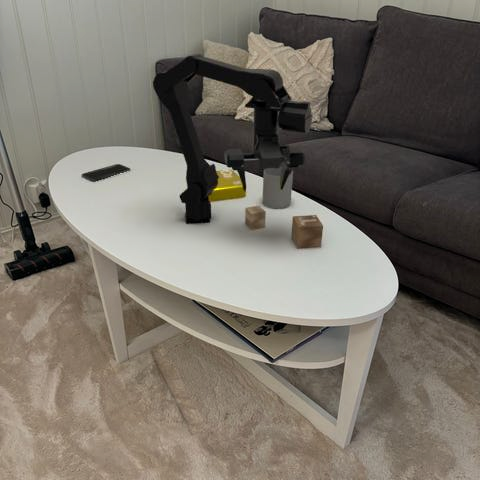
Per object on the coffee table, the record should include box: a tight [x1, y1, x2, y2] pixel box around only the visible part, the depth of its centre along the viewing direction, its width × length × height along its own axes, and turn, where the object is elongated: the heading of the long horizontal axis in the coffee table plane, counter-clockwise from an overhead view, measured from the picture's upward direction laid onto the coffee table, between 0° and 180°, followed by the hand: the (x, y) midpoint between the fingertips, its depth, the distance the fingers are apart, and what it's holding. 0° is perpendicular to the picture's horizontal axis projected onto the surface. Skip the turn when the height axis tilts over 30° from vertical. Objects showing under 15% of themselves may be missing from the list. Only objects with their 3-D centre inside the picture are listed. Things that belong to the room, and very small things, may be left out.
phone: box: [81, 163, 131, 183], centre depth 159 cm, size 8×1×15 cm
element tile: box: [208, 169, 247, 203], centre depth 146 cm, size 15×15×5 cm
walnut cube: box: [290, 214, 324, 250], centre depth 116 cm, size 6×6×6 cm
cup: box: [261, 166, 294, 210], centre depth 137 cm, size 8×8×10 cm
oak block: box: [244, 205, 267, 230], centre depth 125 cm, size 4×4×5 cm
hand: (263, 190), depth 117 cm, fingers open, 9 cm apart
